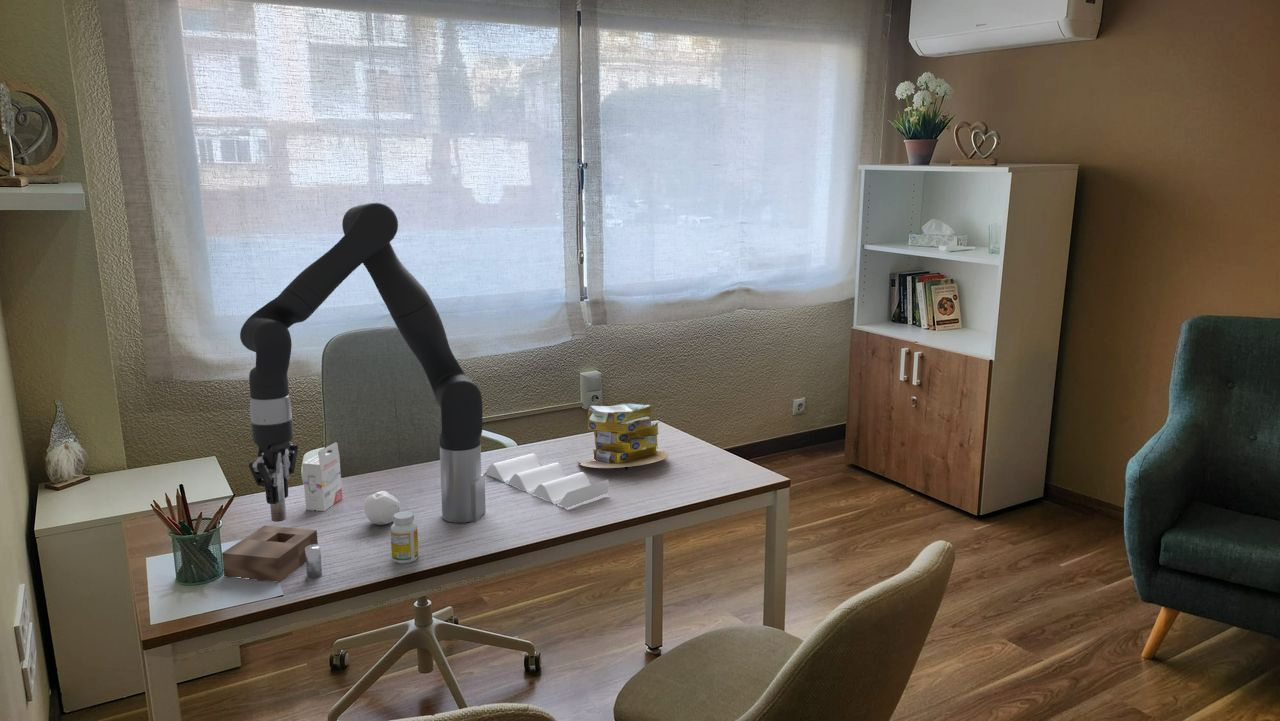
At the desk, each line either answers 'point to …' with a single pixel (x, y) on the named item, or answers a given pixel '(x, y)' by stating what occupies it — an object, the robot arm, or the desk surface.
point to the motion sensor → (381, 507)
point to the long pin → (279, 509)
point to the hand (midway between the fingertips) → (277, 499)
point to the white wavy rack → (547, 480)
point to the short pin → (313, 561)
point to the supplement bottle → (404, 538)
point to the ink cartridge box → (322, 479)
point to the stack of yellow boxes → (623, 436)
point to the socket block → (268, 553)
